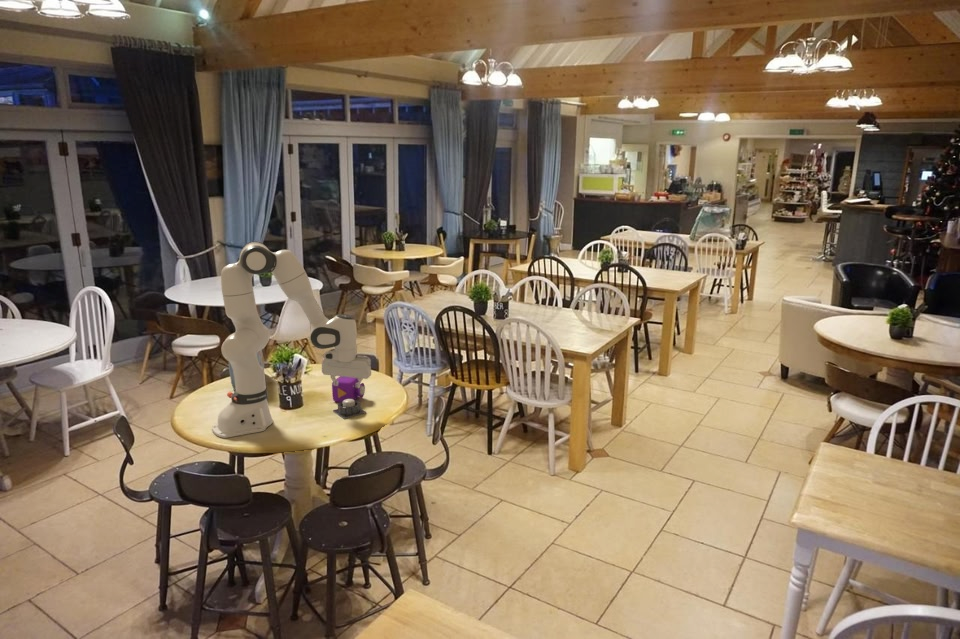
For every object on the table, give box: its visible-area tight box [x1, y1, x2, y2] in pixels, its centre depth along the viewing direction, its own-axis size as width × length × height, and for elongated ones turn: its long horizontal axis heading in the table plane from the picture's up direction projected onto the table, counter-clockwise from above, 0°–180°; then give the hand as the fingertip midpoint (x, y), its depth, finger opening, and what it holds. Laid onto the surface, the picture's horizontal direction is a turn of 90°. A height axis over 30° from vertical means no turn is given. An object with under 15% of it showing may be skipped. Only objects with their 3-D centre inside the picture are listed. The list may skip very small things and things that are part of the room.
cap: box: [343, 399, 356, 407], centre depth 269 cm, size 5×5×4 cm
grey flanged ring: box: [332, 400, 367, 420], centre depth 269 cm, size 10×10×4 cm
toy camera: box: [331, 376, 366, 403], centre depth 283 cm, size 11×14×10 cm
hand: (346, 386), depth 267 cm, fingers open, 8 cm apart
